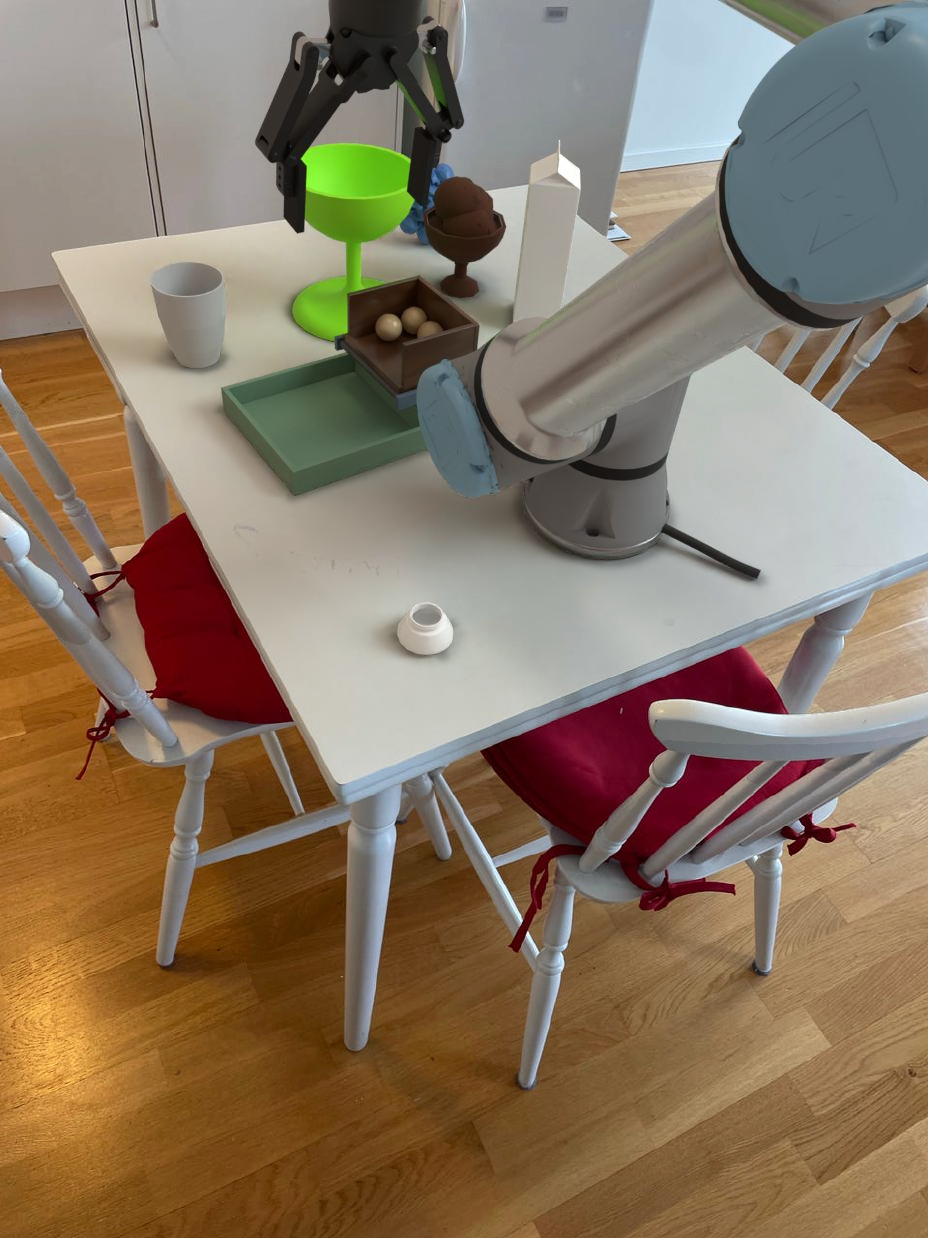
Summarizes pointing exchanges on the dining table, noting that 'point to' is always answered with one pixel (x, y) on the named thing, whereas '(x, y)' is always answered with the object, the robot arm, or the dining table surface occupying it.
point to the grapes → (415, 216)
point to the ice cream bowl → (462, 230)
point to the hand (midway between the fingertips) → (357, 211)
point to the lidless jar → (425, 629)
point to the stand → (401, 399)
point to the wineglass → (349, 221)
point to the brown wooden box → (407, 354)
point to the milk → (546, 237)
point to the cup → (191, 311)
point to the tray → (322, 421)
